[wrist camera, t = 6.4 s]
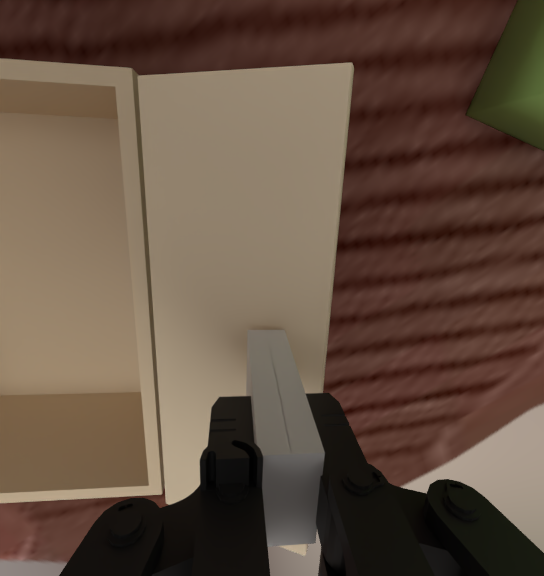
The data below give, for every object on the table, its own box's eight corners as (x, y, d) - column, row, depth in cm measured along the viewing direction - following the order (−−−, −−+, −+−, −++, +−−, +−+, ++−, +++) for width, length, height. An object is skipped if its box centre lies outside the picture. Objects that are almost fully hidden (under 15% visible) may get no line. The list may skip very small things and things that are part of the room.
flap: (137, 75, 13) (352, 62, 11) (145, 79, 14) (354, 67, 11) (166, 503, 19) (305, 556, 17) (171, 496, 20) (307, 546, 17)
